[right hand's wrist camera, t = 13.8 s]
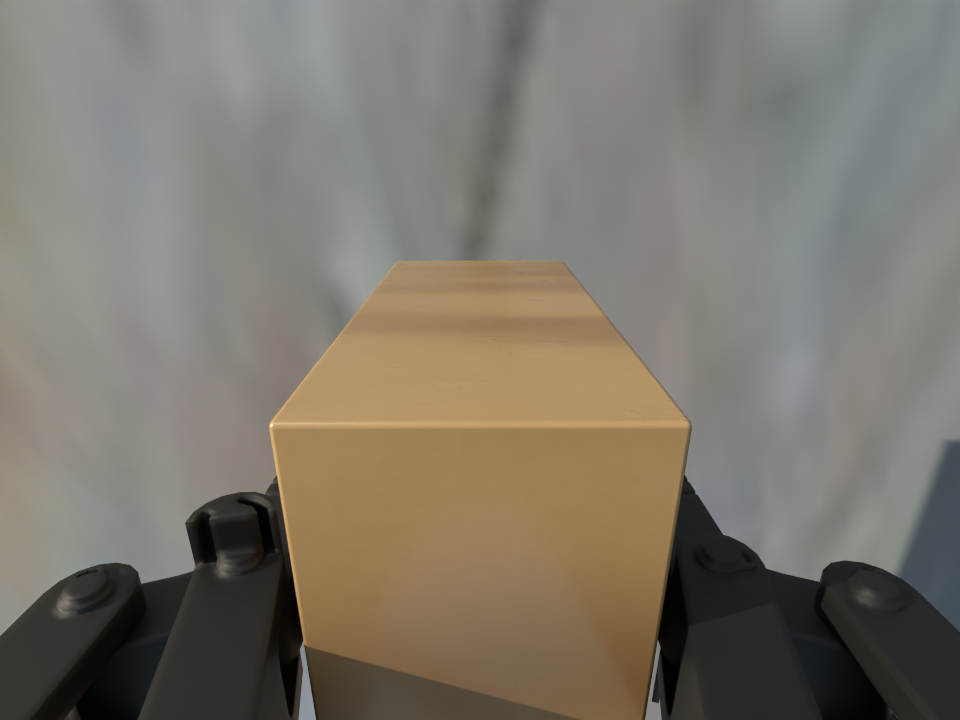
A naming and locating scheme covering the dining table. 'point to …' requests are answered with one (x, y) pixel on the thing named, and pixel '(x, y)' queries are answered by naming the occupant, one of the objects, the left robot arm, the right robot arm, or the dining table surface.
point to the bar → (480, 502)
